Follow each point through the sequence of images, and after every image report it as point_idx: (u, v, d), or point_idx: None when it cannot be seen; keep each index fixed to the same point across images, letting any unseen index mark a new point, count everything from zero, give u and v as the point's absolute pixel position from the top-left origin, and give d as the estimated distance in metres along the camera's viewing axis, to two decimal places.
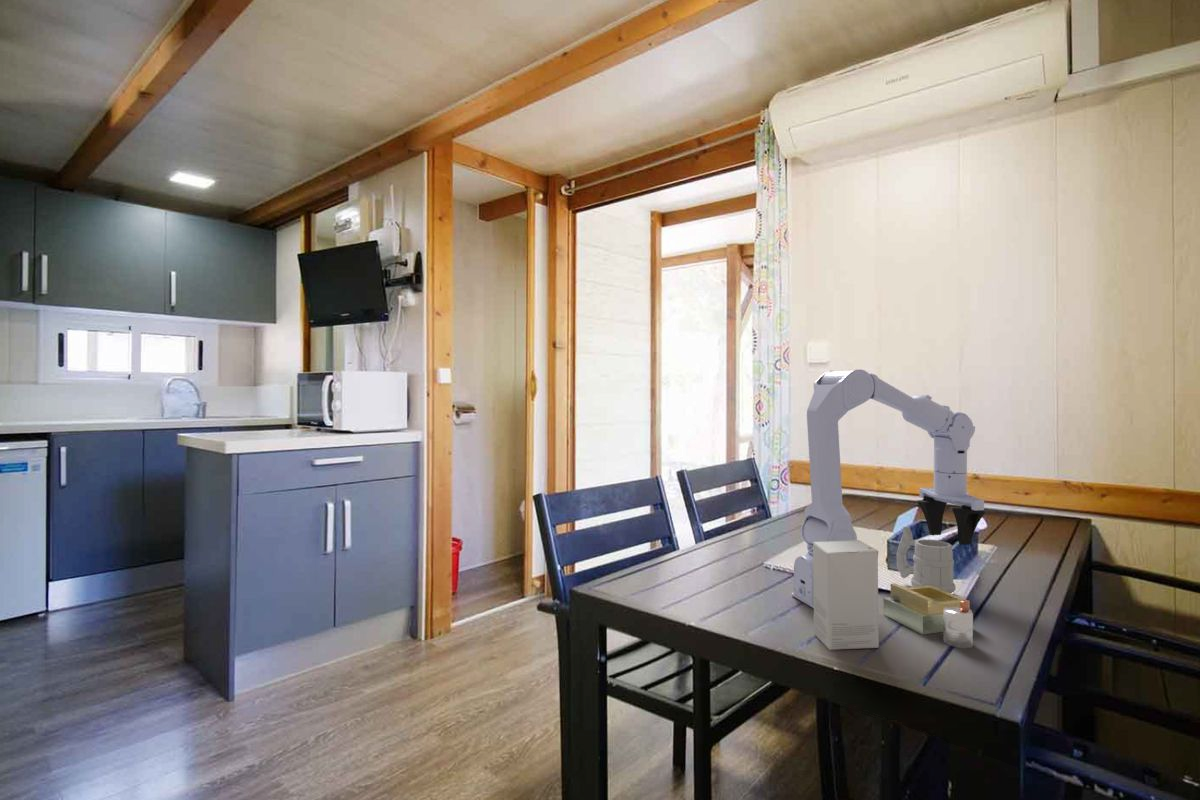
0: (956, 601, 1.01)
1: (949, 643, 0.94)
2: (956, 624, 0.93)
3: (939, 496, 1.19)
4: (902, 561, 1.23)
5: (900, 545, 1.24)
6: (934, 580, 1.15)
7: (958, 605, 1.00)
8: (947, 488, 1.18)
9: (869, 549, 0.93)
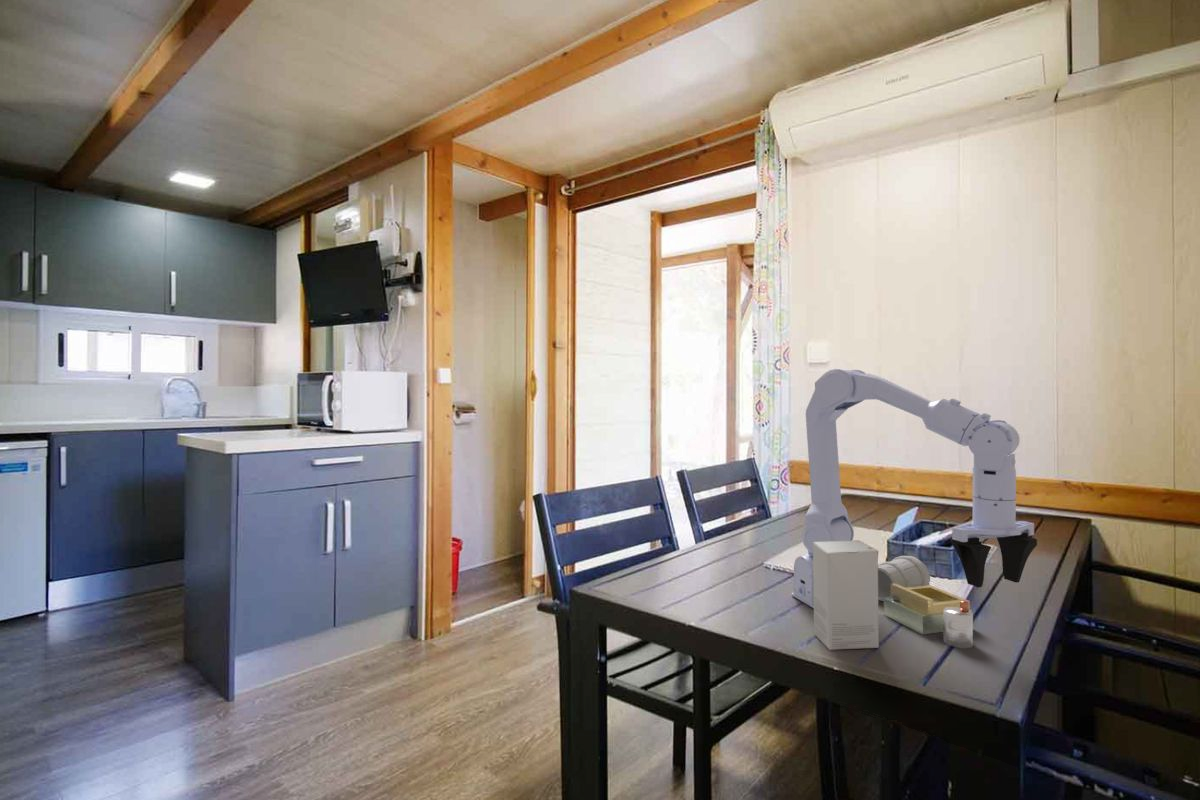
0: (956, 601, 1.01)
1: (949, 643, 0.94)
2: (956, 624, 0.93)
3: None
4: None
5: None
6: None
7: (958, 605, 1.00)
8: None
9: (869, 549, 0.93)
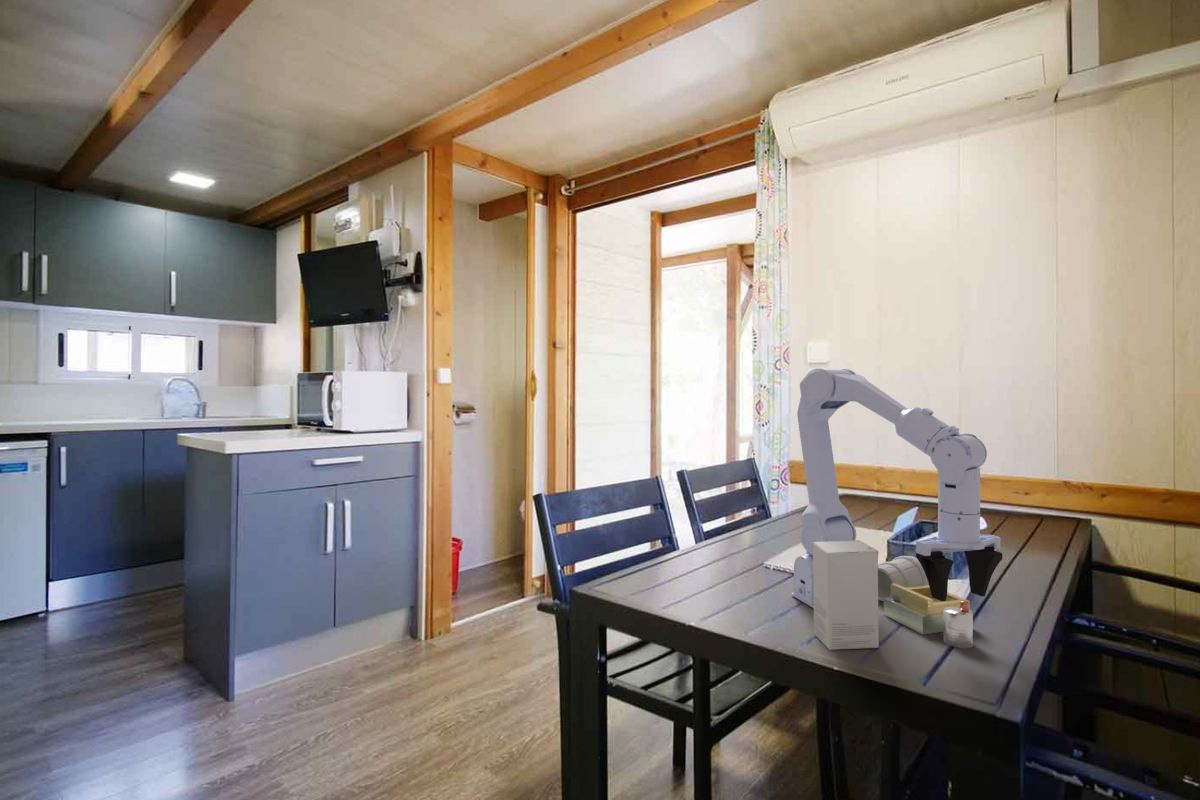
0: (956, 601, 1.01)
1: (949, 643, 0.94)
2: (956, 624, 0.93)
3: None
4: None
5: None
6: None
7: (958, 605, 1.00)
8: None
9: (869, 549, 0.93)
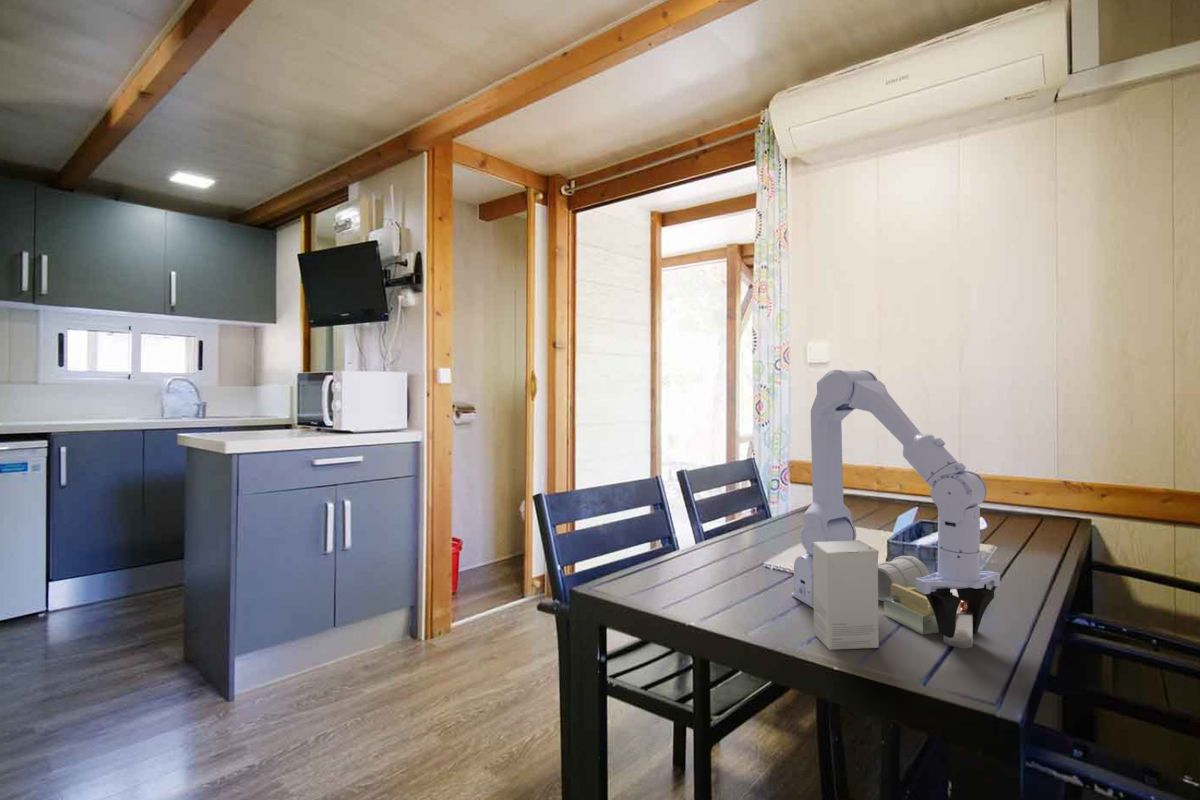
0: None
1: (949, 643, 0.94)
2: (956, 624, 0.93)
3: None
4: None
5: None
6: None
7: None
8: None
9: (869, 549, 0.93)
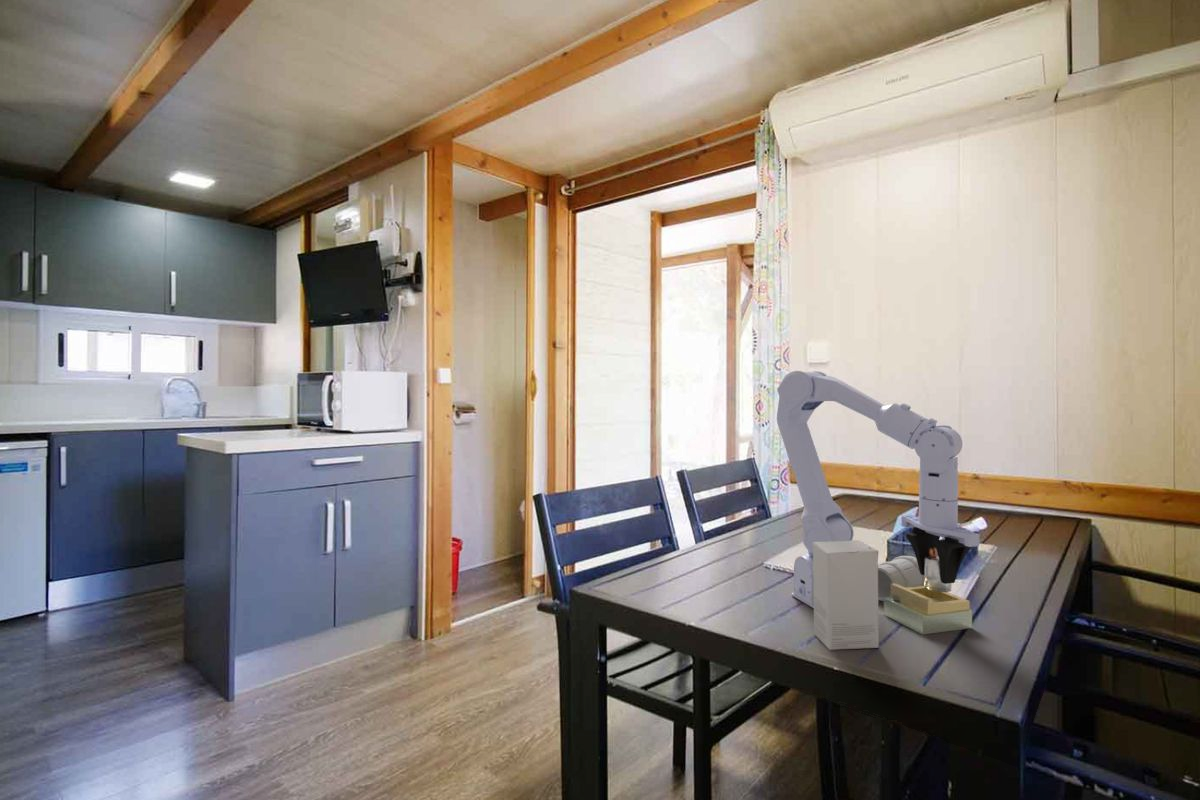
0: (956, 601, 1.01)
1: (948, 590, 0.99)
2: None
3: (925, 528, 0.99)
4: None
5: None
6: None
7: (958, 605, 1.00)
8: (935, 518, 0.98)
9: (869, 549, 0.93)
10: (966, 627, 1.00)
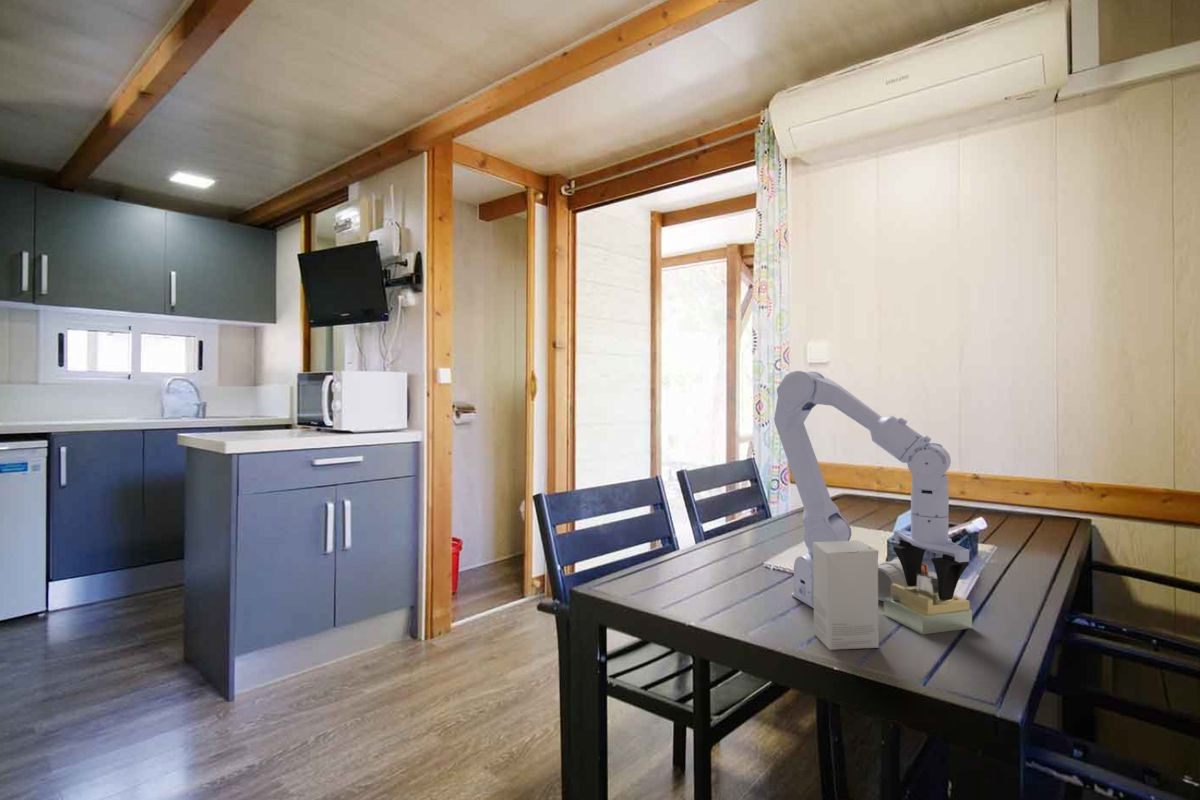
0: (956, 601, 1.01)
1: None
2: None
3: (917, 543, 1.02)
4: None
5: None
6: None
7: (958, 605, 1.00)
8: (926, 534, 1.01)
9: (869, 549, 0.93)
10: (966, 627, 1.00)
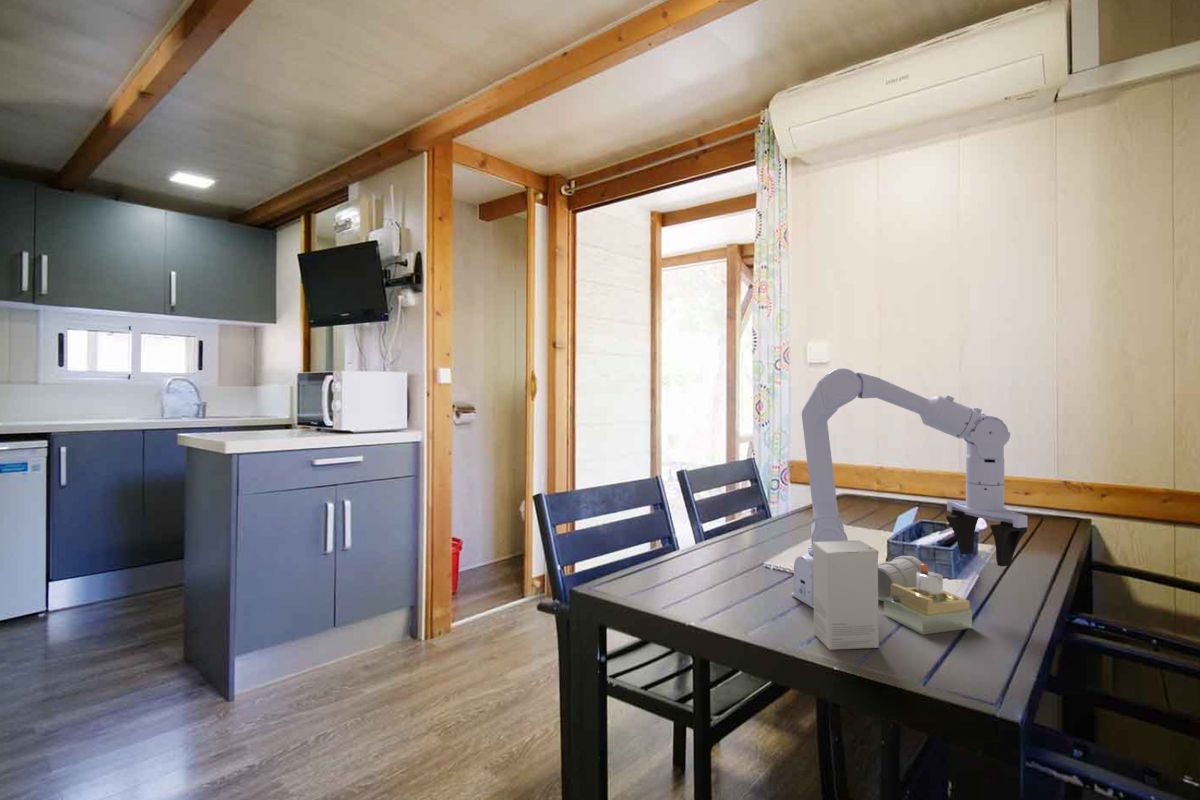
0: (956, 601, 1.01)
1: None
2: (942, 585, 1.03)
3: (974, 511, 1.05)
4: None
5: None
6: None
7: (958, 605, 1.00)
8: (983, 502, 1.04)
9: (869, 549, 0.93)
10: (966, 627, 1.00)
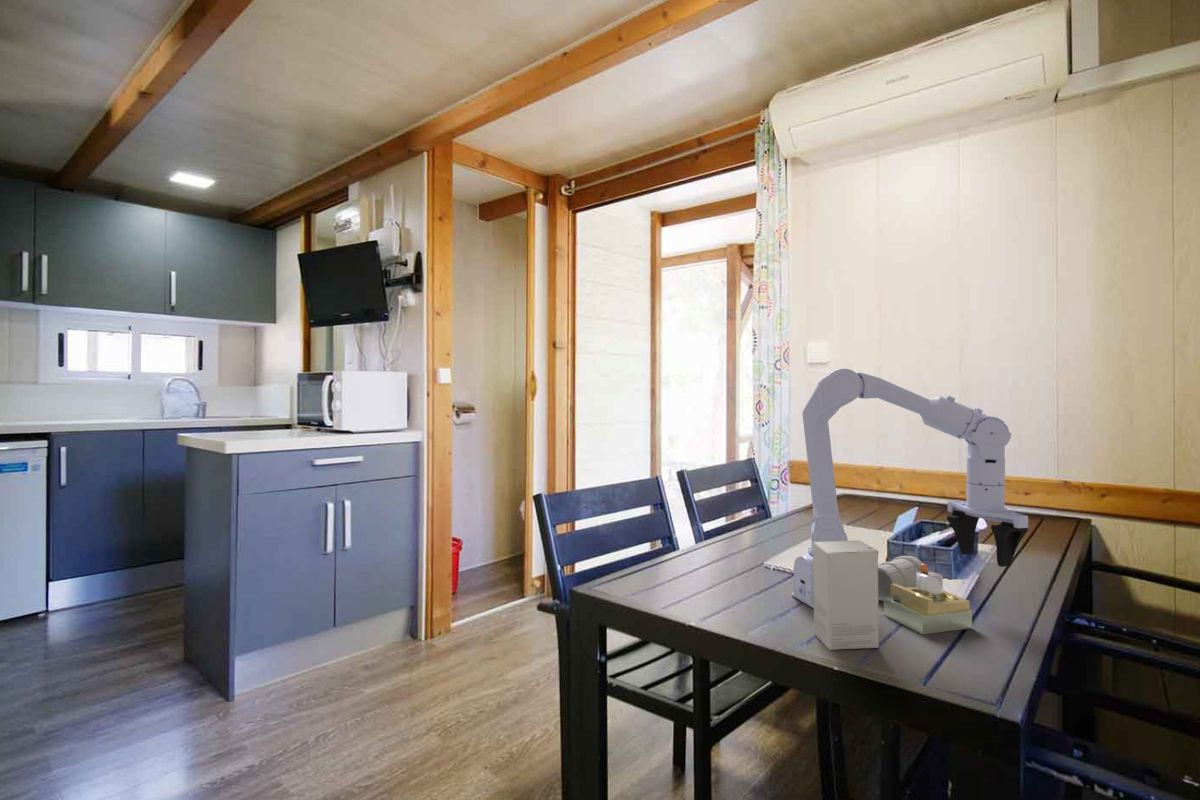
0: (956, 601, 1.01)
1: None
2: (942, 585, 1.03)
3: (974, 511, 1.05)
4: None
5: None
6: None
7: (958, 605, 1.00)
8: (984, 502, 1.04)
9: (869, 549, 0.93)
10: (966, 627, 1.00)
